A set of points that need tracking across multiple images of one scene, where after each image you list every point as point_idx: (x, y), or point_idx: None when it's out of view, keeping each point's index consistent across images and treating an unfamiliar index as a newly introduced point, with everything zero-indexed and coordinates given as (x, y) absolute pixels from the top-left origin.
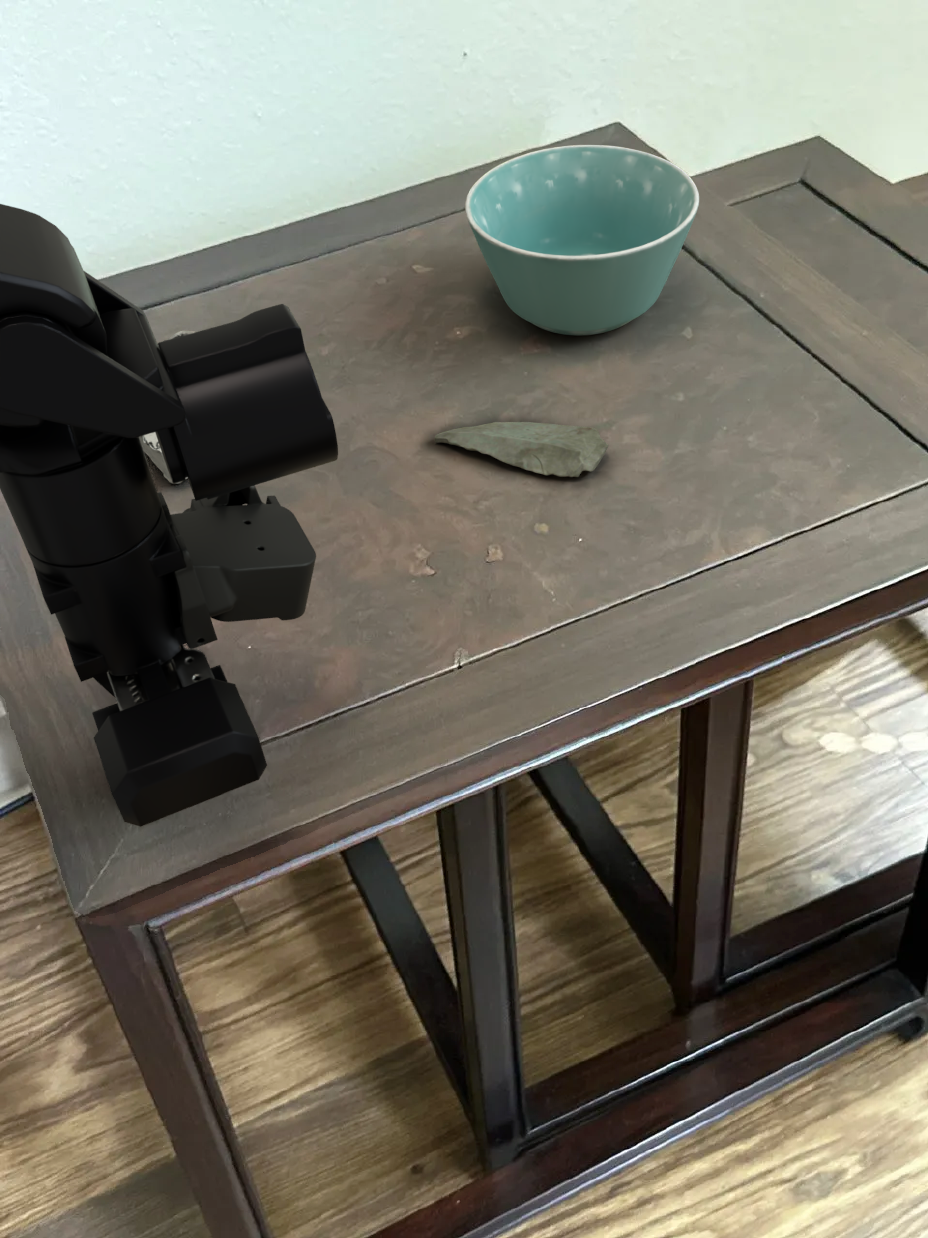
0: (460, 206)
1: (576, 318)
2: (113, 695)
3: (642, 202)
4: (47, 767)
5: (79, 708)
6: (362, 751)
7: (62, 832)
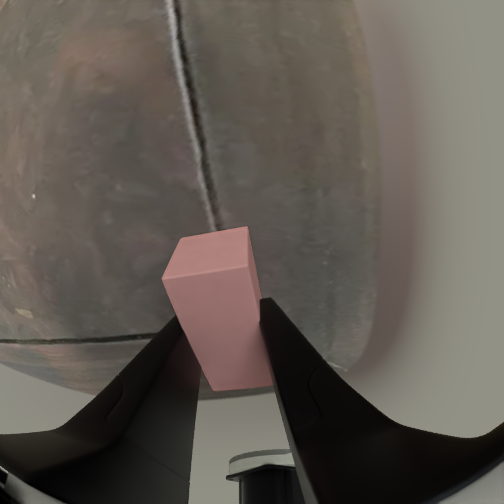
0: None
1: None
2: (191, 458)
3: None
4: None
5: (121, 370)
6: (284, 31)
7: (274, 390)
